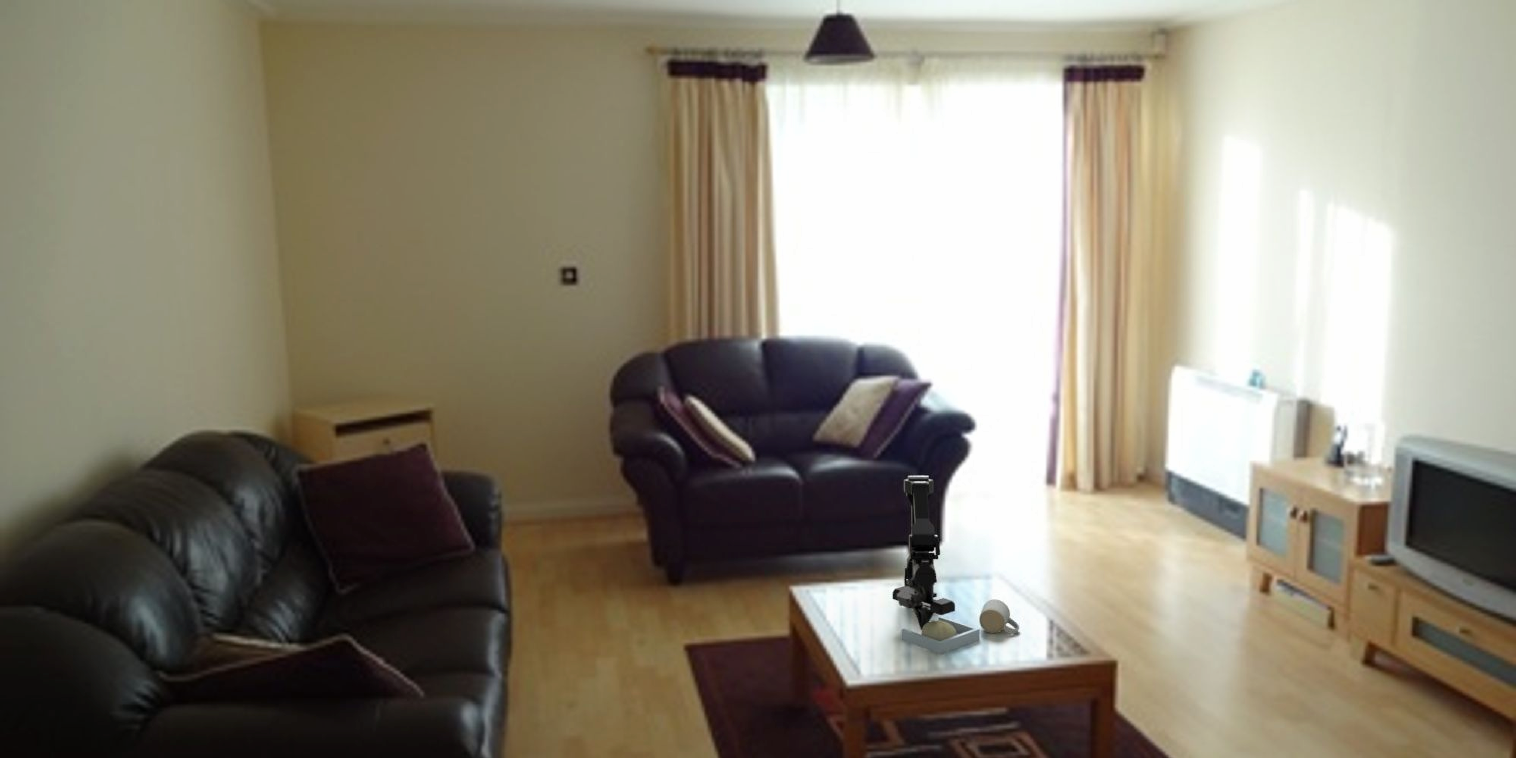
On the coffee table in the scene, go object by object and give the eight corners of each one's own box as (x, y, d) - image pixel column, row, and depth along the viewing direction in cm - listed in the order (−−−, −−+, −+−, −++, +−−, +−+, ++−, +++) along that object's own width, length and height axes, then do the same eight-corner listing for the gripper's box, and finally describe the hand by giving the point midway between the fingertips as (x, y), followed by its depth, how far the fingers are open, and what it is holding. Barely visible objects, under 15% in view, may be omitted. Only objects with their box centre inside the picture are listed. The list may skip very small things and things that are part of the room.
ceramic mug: (978, 633, 294) (978, 606, 293) (982, 623, 302) (983, 597, 301) (1017, 638, 290) (1017, 611, 289) (1020, 628, 298) (1021, 601, 297)
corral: (901, 639, 290) (901, 629, 290) (940, 626, 300) (940, 615, 300) (939, 654, 279) (939, 643, 279) (979, 639, 289) (979, 629, 289)
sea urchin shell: (951, 641, 283) (932, 617, 285) (932, 658, 287) (912, 634, 289) (964, 630, 291) (944, 607, 293) (944, 647, 294) (925, 624, 297)
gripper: (878, 573, 295) (878, 627, 297) (928, 589, 280) (928, 646, 282) (906, 565, 302) (906, 618, 304) (956, 581, 287) (956, 636, 289)
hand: (923, 629), depth 294 cm, fingers closed
